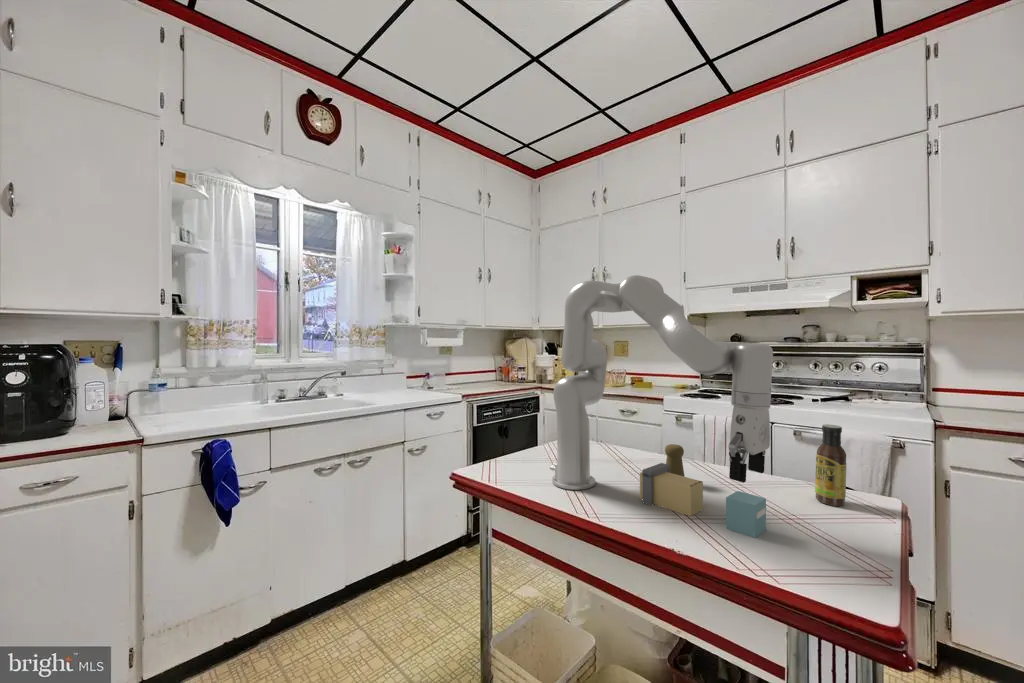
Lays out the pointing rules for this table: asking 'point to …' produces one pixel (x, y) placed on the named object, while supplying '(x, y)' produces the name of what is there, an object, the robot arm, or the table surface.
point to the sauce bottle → (831, 468)
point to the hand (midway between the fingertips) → (747, 475)
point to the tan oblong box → (671, 490)
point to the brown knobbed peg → (675, 459)
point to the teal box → (746, 513)
